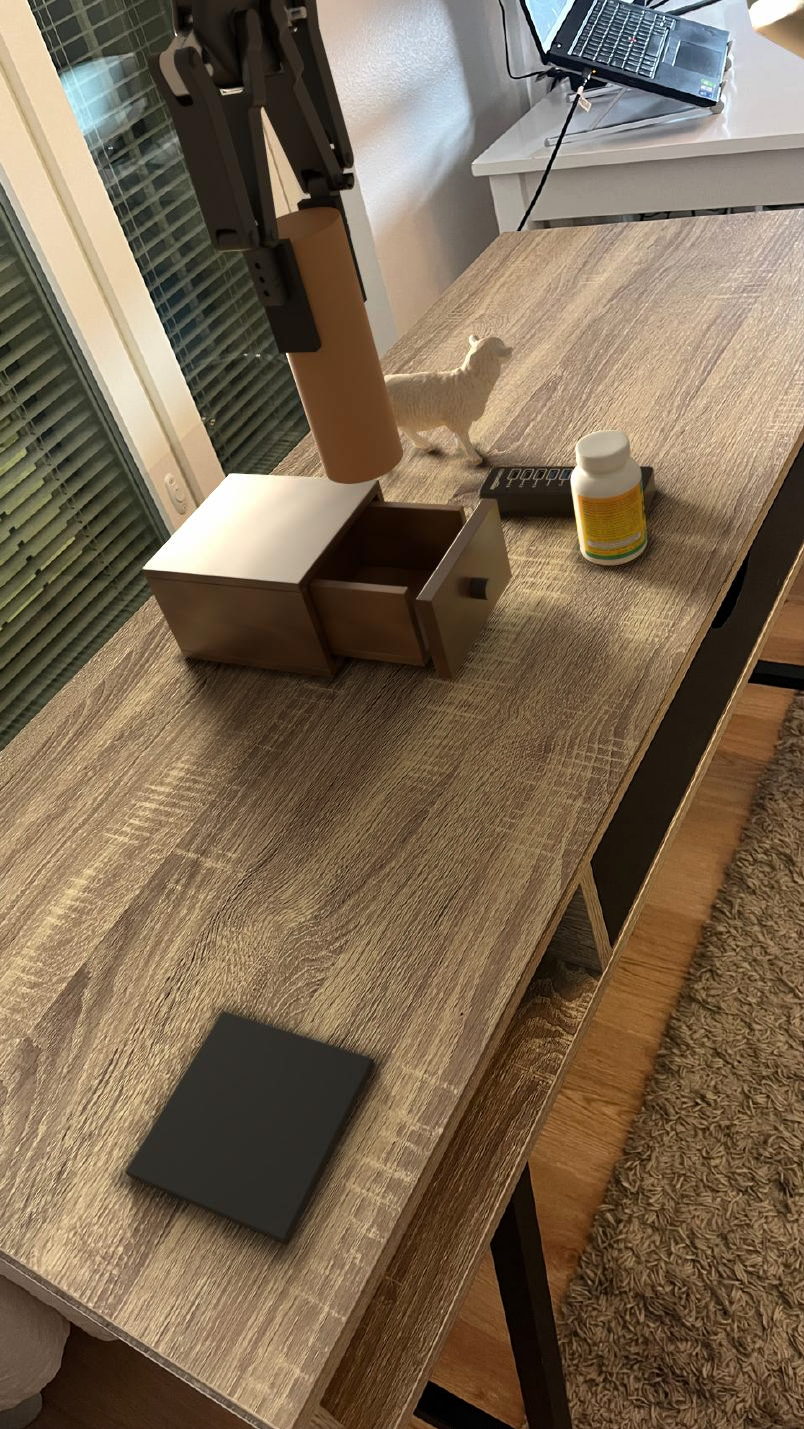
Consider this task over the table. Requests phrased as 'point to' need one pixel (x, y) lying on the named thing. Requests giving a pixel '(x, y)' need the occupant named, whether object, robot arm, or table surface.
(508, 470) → the multiport hub
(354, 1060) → the mat
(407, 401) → the figurine
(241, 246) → the robot arm
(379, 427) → the brown cylinder
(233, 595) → the cabinet
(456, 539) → the drawer
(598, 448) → the supplement bottle
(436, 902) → the table surface
